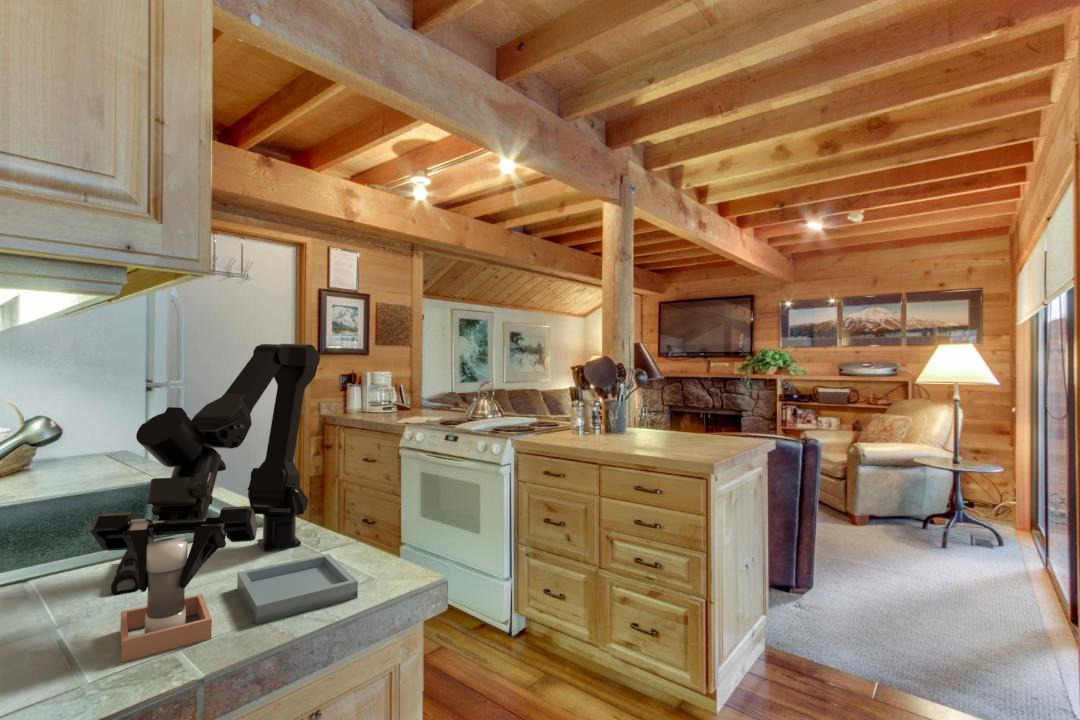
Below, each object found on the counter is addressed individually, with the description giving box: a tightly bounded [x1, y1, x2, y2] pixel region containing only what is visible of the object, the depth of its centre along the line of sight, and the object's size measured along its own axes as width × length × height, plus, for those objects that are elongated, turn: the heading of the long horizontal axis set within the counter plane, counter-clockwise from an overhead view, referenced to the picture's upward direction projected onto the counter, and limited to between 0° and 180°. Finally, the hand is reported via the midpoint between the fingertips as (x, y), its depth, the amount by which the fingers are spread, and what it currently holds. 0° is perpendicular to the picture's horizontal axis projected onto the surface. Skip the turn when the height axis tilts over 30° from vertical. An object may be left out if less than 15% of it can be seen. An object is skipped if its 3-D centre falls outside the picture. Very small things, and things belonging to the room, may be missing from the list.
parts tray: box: [236, 553, 359, 625], centre depth 84 cm, size 14×14×2 cm
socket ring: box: [120, 593, 213, 663], centre depth 71 cm, size 9×9×2 cm
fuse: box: [144, 537, 188, 634], centre depth 71 cm, size 4×4×12 cm
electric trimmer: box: [110, 549, 140, 596], centre depth 88 cm, size 4×16×3 cm, turn 34°
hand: (162, 588), depth 69 cm, fingers closed on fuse, 4 cm apart
